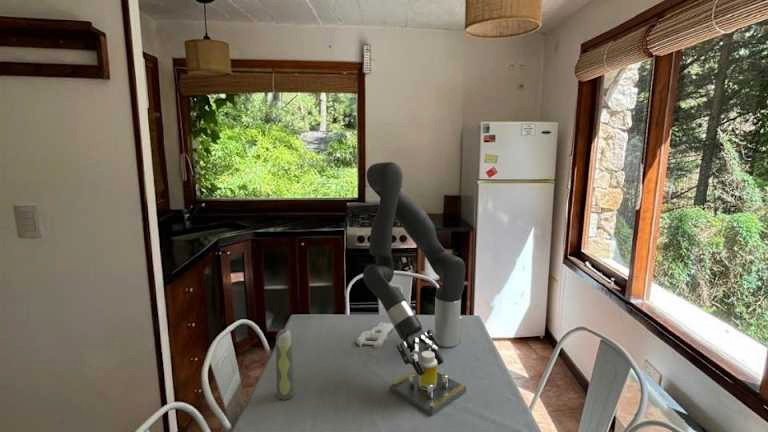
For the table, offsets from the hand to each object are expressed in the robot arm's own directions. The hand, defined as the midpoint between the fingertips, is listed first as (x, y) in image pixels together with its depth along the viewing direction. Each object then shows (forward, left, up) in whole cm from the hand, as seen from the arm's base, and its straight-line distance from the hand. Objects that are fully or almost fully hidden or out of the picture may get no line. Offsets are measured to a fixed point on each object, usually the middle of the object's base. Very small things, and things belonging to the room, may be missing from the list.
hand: (432, 368), depth 119 cm
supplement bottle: (0, -2, -6) cm, 7 cm away
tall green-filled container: (+36, -22, -8) cm, 43 cm away
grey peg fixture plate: (0, -1, -8) cm, 8 cm away
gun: (-6, -39, -8) cm, 40 cm away
